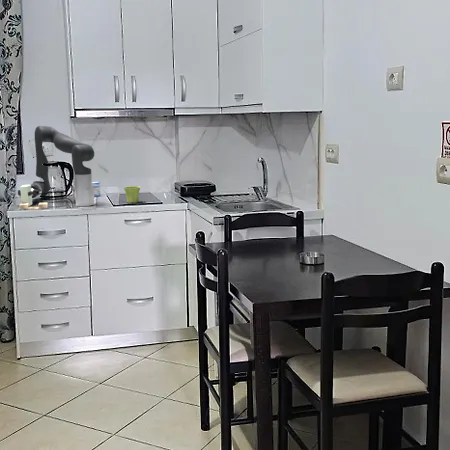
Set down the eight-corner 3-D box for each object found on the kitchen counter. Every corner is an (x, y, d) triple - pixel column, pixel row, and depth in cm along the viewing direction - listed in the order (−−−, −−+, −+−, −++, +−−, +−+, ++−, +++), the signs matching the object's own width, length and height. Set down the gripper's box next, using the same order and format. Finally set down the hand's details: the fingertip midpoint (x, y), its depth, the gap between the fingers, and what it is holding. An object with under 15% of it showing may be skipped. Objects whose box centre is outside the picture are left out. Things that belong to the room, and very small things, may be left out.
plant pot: (131, 204, 371) (131, 188, 370) (120, 202, 377) (120, 187, 376) (144, 202, 378) (143, 186, 377) (133, 200, 384) (133, 185, 383)
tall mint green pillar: (32, 204, 371) (30, 184, 369) (28, 206, 363) (26, 186, 361) (25, 204, 371) (24, 184, 369) (21, 206, 363) (20, 186, 361)
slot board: (47, 206, 365) (47, 202, 364) (46, 208, 358) (46, 204, 358) (21, 207, 362) (20, 203, 362) (19, 209, 356) (19, 205, 355)
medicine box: (91, 197, 402) (90, 183, 401) (86, 197, 405) (85, 182, 403) (100, 196, 408) (100, 182, 407) (95, 195, 411) (95, 181, 409)
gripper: (20, 184, 380) (11, 187, 363) (45, 183, 380) (37, 187, 363) (21, 197, 381) (12, 201, 364) (46, 196, 381) (38, 200, 364)
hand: (24, 194), depth 363 cm, fingers closed on tall mint green pillar, 3 cm apart
